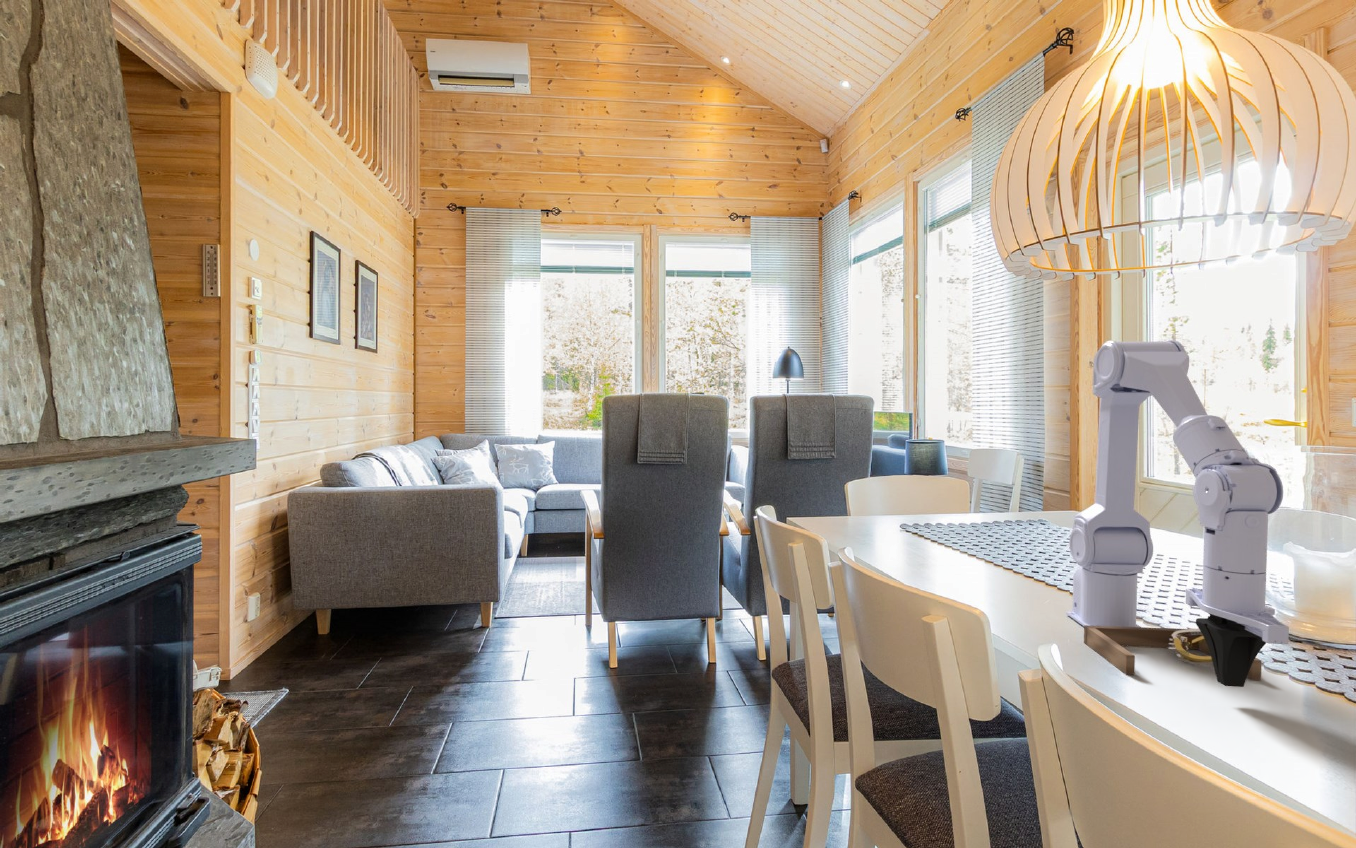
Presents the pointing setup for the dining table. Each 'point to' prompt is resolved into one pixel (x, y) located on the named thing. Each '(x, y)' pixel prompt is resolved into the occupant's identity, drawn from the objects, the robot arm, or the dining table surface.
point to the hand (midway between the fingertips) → (1230, 684)
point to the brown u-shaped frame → (1140, 645)
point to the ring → (1183, 646)
